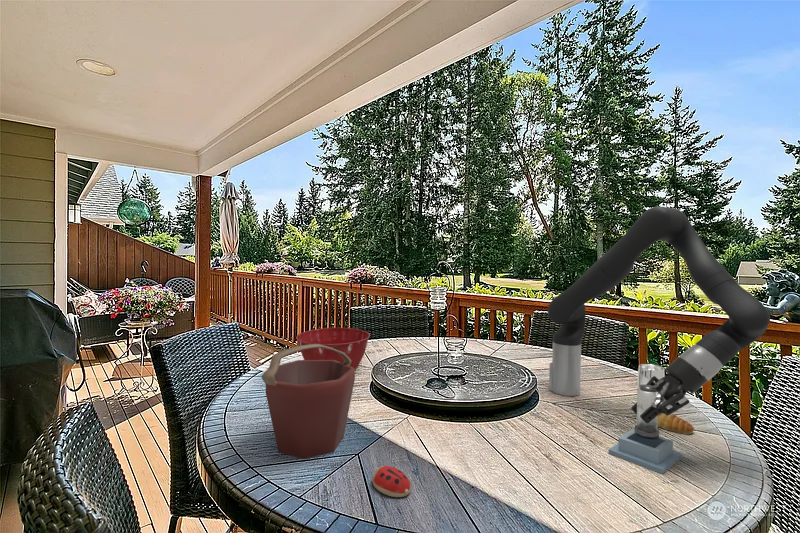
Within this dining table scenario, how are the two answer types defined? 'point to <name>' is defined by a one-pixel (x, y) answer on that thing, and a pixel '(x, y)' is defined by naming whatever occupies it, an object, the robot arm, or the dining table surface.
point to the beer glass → (649, 373)
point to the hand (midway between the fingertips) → (638, 415)
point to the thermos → (644, 401)
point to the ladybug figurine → (391, 482)
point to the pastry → (674, 424)
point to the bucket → (309, 402)
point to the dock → (646, 452)
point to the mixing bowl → (335, 344)
